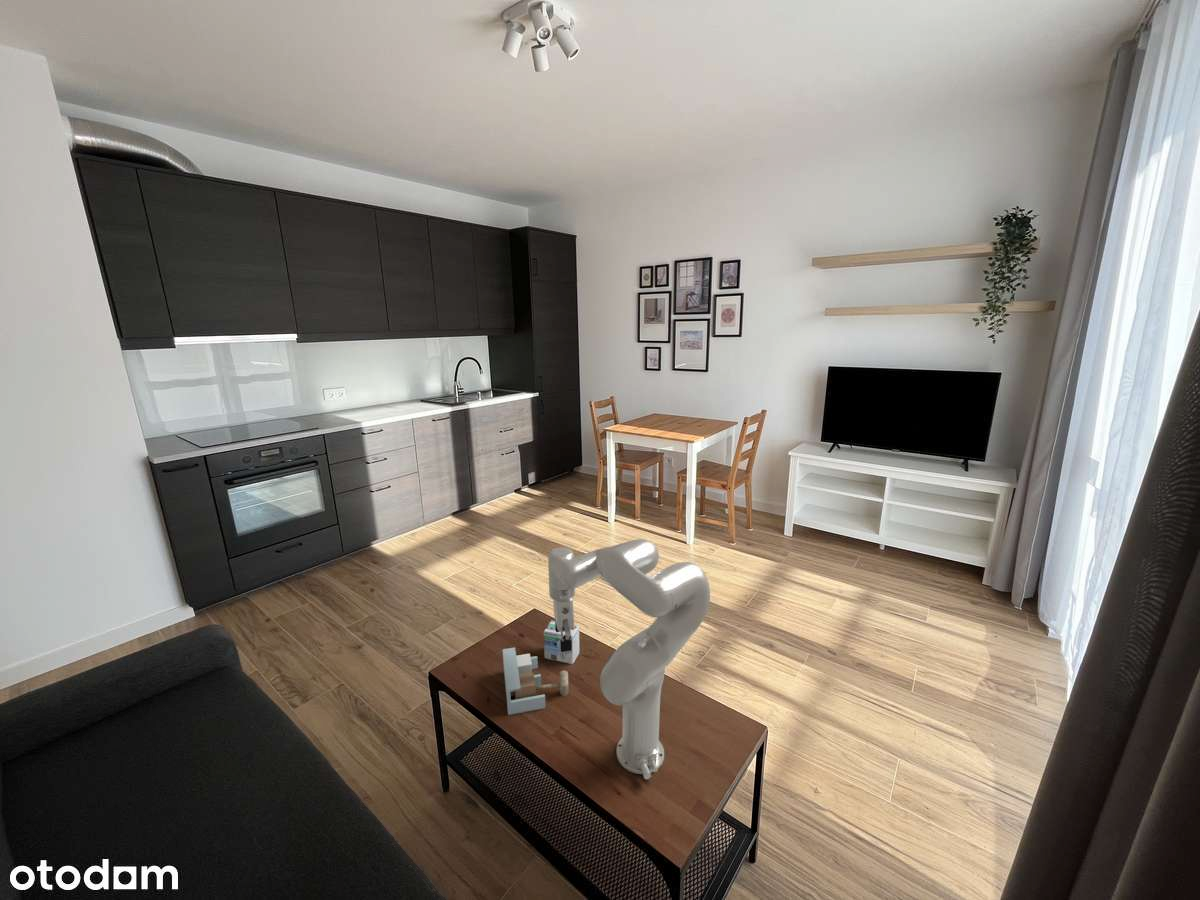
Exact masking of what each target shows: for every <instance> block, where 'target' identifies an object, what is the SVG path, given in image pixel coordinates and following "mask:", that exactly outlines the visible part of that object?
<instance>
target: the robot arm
mask: <svg viewBox="0 0 1200 900" xmlns="http://www.w3.org/2000/svg"><path fill="white" fill-rule="evenodd" d="M659 555H660V553H659V551H658V547H657V546H656V545H655V544H654V543H653V542H652V541H650V540H648V539H645V538H644V539H643V538H639V539H638V538H637V539H632V540H628V541H626V542H622V543H618V544H614V545H610V546H606V547H602V548H599V549H595V550H591V551H589V552H586V553H584V554H582V555H581V554H580V555H579V556H577V557H575V554H574V552H573V550H572V549H571V548H569V547H555V548H553V549H551V550H550V551H549V553H548V555H547V564H548V565H547V566H548V593H549V595H548V596H549V598H550V599H552V605H553V616H554V621H555V630H556V632H561V639H560V644H561V652H566V651H571V650H572V638H571V632H570V629H571V630H574V629H575V625H576V624H575V610H574V601H573V598H574V597H575V595H576V589H577V588H579V587H581V586H583V585H586V584H587V583H589V582H592V581H594V580H596V579H598V578H603V579H605V580H606V582H607V583H608V584H609V585H610V586H611V587H612V588H613V589H615V591H617V592H618V593H619V594H620V595H621V596H623V597H624V598H625V599H626V600H627V601H629V602H630V603H631V604H632V605H633V606H634V607H636V608H637V609H638V610H639V611H640V612H642V613H643V614H645V615H647V616H649V617H651V618H655V620H654V621H653V622H652V623H651V624H650V625H649V626H648V627H646V628H645V629H644V630H641V631H639V632H638V633H637V634H635V635H633V636H632V637H631V638H628V639H627V640H626V641H624V642H623V643H622V644H620V645H619V646H618V648H617V649H616V650H615V651H614V652H613V654H612V655H611V657H610V658H609V659H608V661H607V663H606V664H605V665H604V667H603V668H602V670H601V673H600V677H599V680H600V681H599V684H600V689H601V693H602V694H603V696H604V697H605V699H606V701H608V702H609V703H611V704H613V705H615V706H622V737H621V738H620V739H619V740H618V743H617V745H616V757H617V761H618V763H619V764H620V765H621V766H622V767H623V769H624V770H627V771H628V772H630V773H633V774H635V775H636V774H638V775H642V776H643V779H644V780H649V779H651V777H652V773H657V772H658V770H659V768H660V767H661V766H662V765H663V762H664V759H665V749H664V746H663V744H662V742H661V741H660V740H659V739H660V714H661V713H660V710H661V709H660V707H661V694H662V693H661V691H662V688H663V687H662V686H663V682H664V678H665V673H666V668H667V667H668V666H669V665H671V663H672V662H673V661H674V659H675V658H676V656H677V655H678V654H679V653H680V651H681V650H682V649H683V648H684V646H685V645H686V644H687V643H688V641H689V640H690V639H691V638H692V636H693V635H694V633H695V632H696V631H697V630H698V629H699V627H700V626H701V624H702V622H703V621H704V619H705V617H706V616H707V613H708V610H709V607H710V602H711V601H710V600H711V591H710V589H711V588H710V584H709V583H710V582H709V580H708V578H707V576H706V573H705V572H704V570H703V568H702V567H700V566H699V565H698V564H696V563H694V562H690V561H683V562H682V561H681V562H676V563H674V564H672V565H669V566H667V567H666V568H663V569H661V570H660V571H657V572H656V573H654V574H652V575H650V576H648V574H649V573H650V572H652V571H653V570H654V569H655V568H656V567H657V565H658V563H659V558H660V556H659ZM563 632H565V635H564V636H563Z"/></svg>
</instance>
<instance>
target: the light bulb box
mask: <svg viewBox="0 0 1200 900" xmlns="http://www.w3.org/2000/svg"><path fill="white" fill-rule="evenodd" d="M574 625H575V629H574V630H571V629H570V632H571V638H572V650H571V651H566V652H561V644H560V639H561V632H556V630H555V620H550V622H549V623H548V625H547V627H546V628H545V629H544V631H543V639H544V640H543V641H544V643H543V644H544V645H543V647H544V650H543V653H544V659H547V660H551V661H555V662H556V661H557V662H561V663H566V664H569V665H573V664H574V662H575V661H576V659H577V657H578V656H579V654H580V625H577V624H574ZM564 635H565V632H563V636H564Z"/></svg>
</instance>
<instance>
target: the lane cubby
mask: <svg viewBox="0 0 1200 900" xmlns="http://www.w3.org/2000/svg"><path fill="white" fill-rule="evenodd" d="M516 656H517V652H516V647H510V648H503V649H502V658H503V659H502V662H503V663H502V664H503V675H504V685H505V697H506V698H505V699H506V706H507V707H506V708H507V716H510V715H515V714H521V713H526V712H533V711H536V710H541V709H546V708H547V707H546V706H547V705H546V695H545V694H539V695H536V696H532V697H527V698H521V699H516V700H515V699H511V696H512V695H511V693H514V691H515V690H520V689H521V687H520V679H519V672H518V665H517V658H516ZM530 657H531V663H532V670H535V669H536V670H537V669H538V668H539V664H538V663H539V662H538V656H536V655H535V656H530ZM534 680H535V686H541V685H542V674H541V673H539V674H534Z"/></svg>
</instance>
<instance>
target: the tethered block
mask: <svg viewBox="0 0 1200 900" xmlns="http://www.w3.org/2000/svg"><path fill="white" fill-rule="evenodd" d="M534 675H535V674H534V672H532V673H528V674H522V675H519V679H520V687H521V689H520V690H515V691H514V692H513V693H514V700H516V699H521V698H527V697H532V696H537V691H538V690H539V691H540V690H543V689H549V688H555V687H559V694H560V695H561V696H562V697H566V696H568V695H569V672H568V671H567V670H561V671H560V672H559V682H553V683H547V684H541V686H535V680H534Z"/></svg>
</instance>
